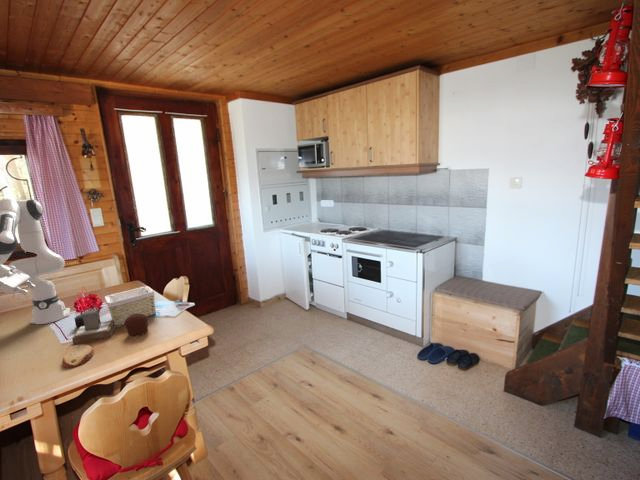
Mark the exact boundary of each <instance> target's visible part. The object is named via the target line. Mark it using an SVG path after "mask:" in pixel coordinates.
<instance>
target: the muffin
mask: <svg viewBox="0 0 640 480" xmlns="http://www.w3.org/2000/svg"><path fill="white" fill-rule="evenodd" d="M149 320H150V319H149V316H146V315H144V314H139V313H138V314H133V315H131V316H129V317H128V318H127V319H126V320H125V322H124V324H123V326H125V329H126V331H127V334H128V336H129V337H132V338H133V337H139V336H143V335H145V334H146V333H147V332H148V331H149V324H148V323H149Z"/></svg>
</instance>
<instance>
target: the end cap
mask: <svg viewBox="0 0 640 480" xmlns="http://www.w3.org/2000/svg"><path fill="white" fill-rule="evenodd" d="M74 323H75V327H76V329H78V328H79V327H81V326H84V321H83V317H82V314H80V315H76V316H75V317H74Z"/></svg>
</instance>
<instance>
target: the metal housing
mask: <svg viewBox="0 0 640 480" xmlns="http://www.w3.org/2000/svg"><path fill="white" fill-rule="evenodd" d="M81 315H82V317H83V321H84V326H85V330H86V331H89V330H94V329H99V328H100V326H101V322H102V321H101V318H100V312H99V309H98V308H96V309H89V310H85V311H83V312H82V314H81Z"/></svg>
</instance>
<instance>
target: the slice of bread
mask: <svg viewBox="0 0 640 480" xmlns="http://www.w3.org/2000/svg"><path fill="white" fill-rule="evenodd" d="M94 354H95V349H94V347H92V346H91V345H90V344H86V343H85V344H80V345H71V346H70V347H69V348H67V350H66V352H65V353H64V354H63V358H62V366H63V367H64V368H68V369H75V368H77V367H80V366H82V365H84V364H85V363H87V362H88V361H90V360H91V359H92V357H94Z"/></svg>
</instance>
